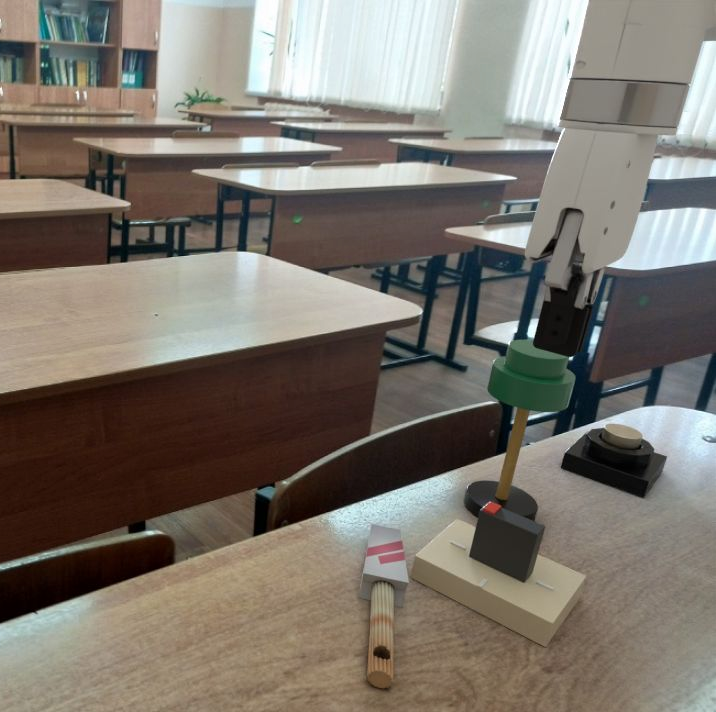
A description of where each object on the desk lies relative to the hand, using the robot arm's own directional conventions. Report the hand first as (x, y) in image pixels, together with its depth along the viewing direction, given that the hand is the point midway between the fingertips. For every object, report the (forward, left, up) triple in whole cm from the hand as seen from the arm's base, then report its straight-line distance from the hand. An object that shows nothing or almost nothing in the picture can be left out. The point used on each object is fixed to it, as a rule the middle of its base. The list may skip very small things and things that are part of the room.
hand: (556, 349), depth 59 cm
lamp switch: (-1, -34, -23) cm, 41 cm away
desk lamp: (+5, -14, -23) cm, 28 cm away
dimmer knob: (0, 0, -21) cm, 21 cm away
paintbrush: (+6, +10, -24) cm, 26 cm away
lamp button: (-1, -34, -20) cm, 39 cm away
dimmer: (0, 0, -23) cm, 23 cm away
